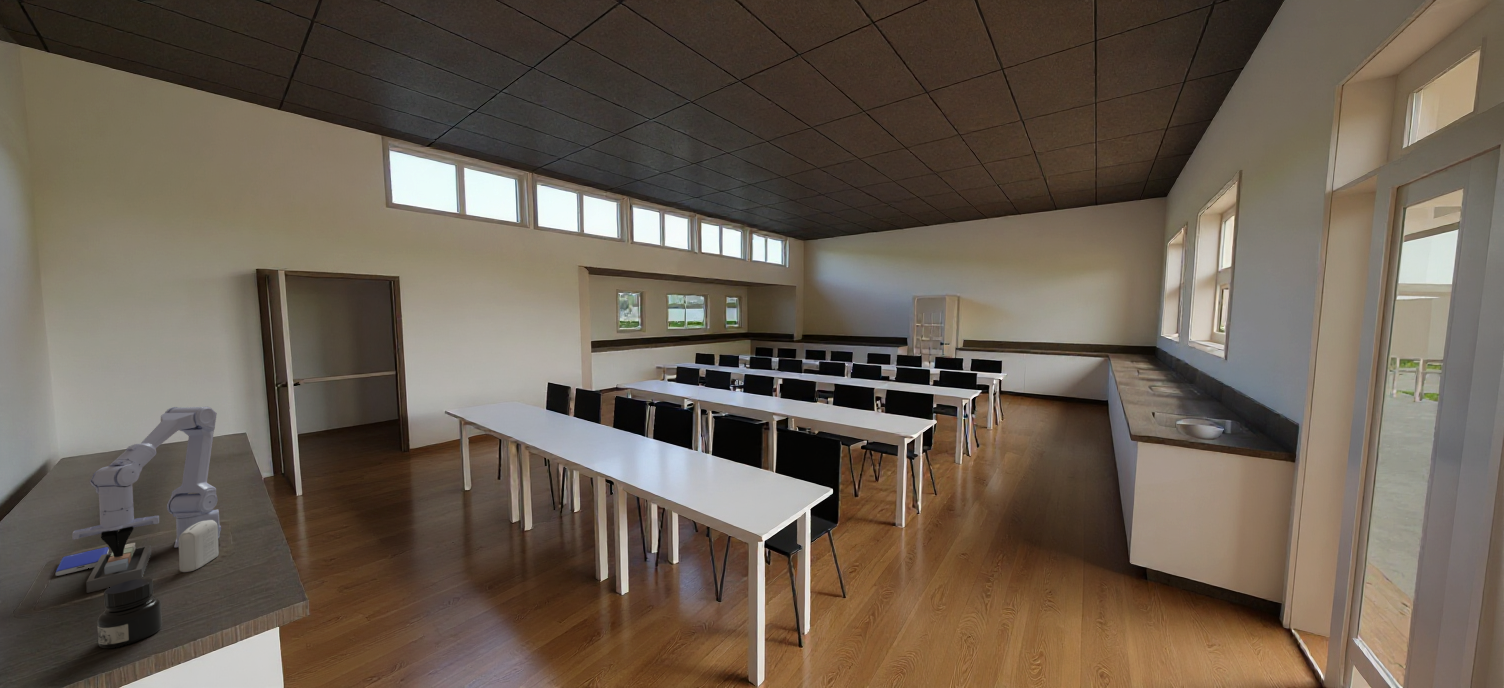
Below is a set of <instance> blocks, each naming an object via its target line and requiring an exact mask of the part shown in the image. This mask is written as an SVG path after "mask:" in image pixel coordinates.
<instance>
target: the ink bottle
mask: <svg viewBox="0 0 1504 688" xmlns="http://www.w3.org/2000/svg"><path fill="white" fill-rule="evenodd" d="M153 582H154V581H153V577H143V578H140V579H134V580H130V581H126V582H123V583H120V584H117V585H114V586H112V587H110V588H106V589H105V590H104V591H103V598H104V600H103V602H104V608H105V610H104V611H102V612H101V613H100V615H99V616H98V617H97V622H96V625H97V641H98V642H97V643H98V646H99V647H100V648H103V649H116V648H120V646H121V647H124V646H123V645H125V646H128V645H131V644H134V643H136V642H137V643H138V642H139V641H142V640H143V639H146V638H149V637H151V636H153V635H154V634H156V633H157V632H159V631H160V630H161V628H162V627H163V626H162V625H163V619H162V618H163V617H162V615H163V613H162V602H161V599H160V598H157V597H154V596H153V595H154V583H153ZM127 644H128V645H127ZM115 647H116V648H115Z"/></svg>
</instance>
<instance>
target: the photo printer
mask: <svg viewBox="0 0 1504 688" xmlns="http://www.w3.org/2000/svg"><path fill="white" fill-rule="evenodd" d="M219 554H220V553H219V538H218V525H217V523H216V522H215V521H213V520H207V521H201V522H198V523H196V524H194V525H192V526H190V527H189V528H187V529H186V530H185V531H184V532H183V533H182V534H181V535H180V537H179V547H178V558H179V559H178V560H179V571H180V572H182V573H189V572H194V571H195V570H198V569H200V568H202V567H204V566H205V565H206V564H208V563H210V562H211V561H212V560H214V559H216V558H217V557H219Z"/></svg>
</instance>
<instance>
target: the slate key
mask: <svg viewBox="0 0 1504 688" xmlns="http://www.w3.org/2000/svg"><path fill="white" fill-rule="evenodd" d="M127 568H128V558H127V559H122V560H118V561H113V562H109V563H106V565H105V567H104V571H105V575H106V574H110V573H112V574H116V573H120V572H122V571H123V570H127Z"/></svg>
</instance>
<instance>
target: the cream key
mask: <svg viewBox="0 0 1504 688" xmlns="http://www.w3.org/2000/svg"><path fill="white" fill-rule="evenodd" d="M128 548H133V553H134V551H135V548H136V542H131V543H128V544H127V543H126V545H125V548H124V549H128Z"/></svg>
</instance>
